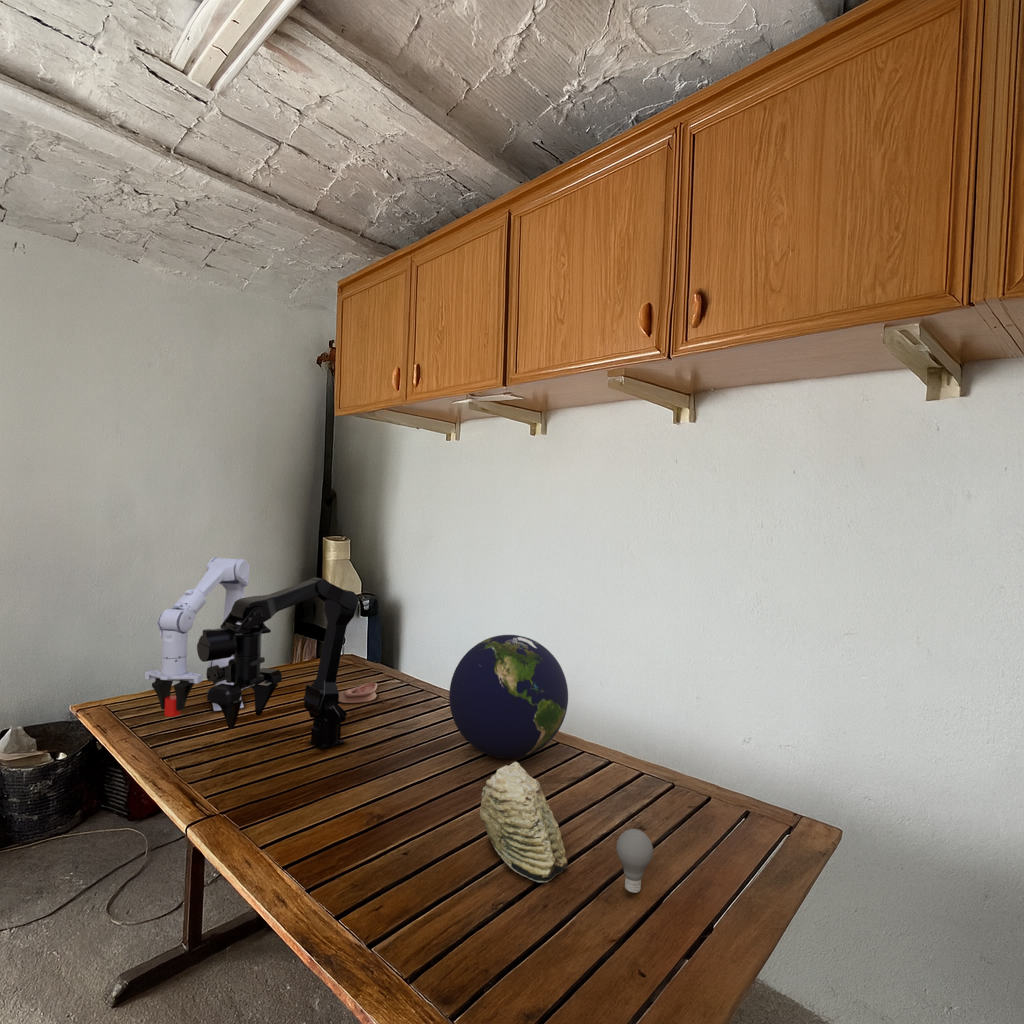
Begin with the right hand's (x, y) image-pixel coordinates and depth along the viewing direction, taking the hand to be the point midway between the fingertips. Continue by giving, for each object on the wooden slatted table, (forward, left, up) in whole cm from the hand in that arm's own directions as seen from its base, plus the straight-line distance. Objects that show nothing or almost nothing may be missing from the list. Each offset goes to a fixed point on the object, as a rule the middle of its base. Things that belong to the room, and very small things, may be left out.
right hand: (245, 721), depth 145 cm
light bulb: (-25, +87, -11) cm, 92 cm away
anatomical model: (-48, -27, -11) cm, 56 cm away
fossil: (-19, +67, -11) cm, 71 cm away
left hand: (+4, -30, -4) cm, 31 cm away
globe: (-51, +35, -11) cm, 63 cm away
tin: (+4, -30, -5) cm, 31 cm away
